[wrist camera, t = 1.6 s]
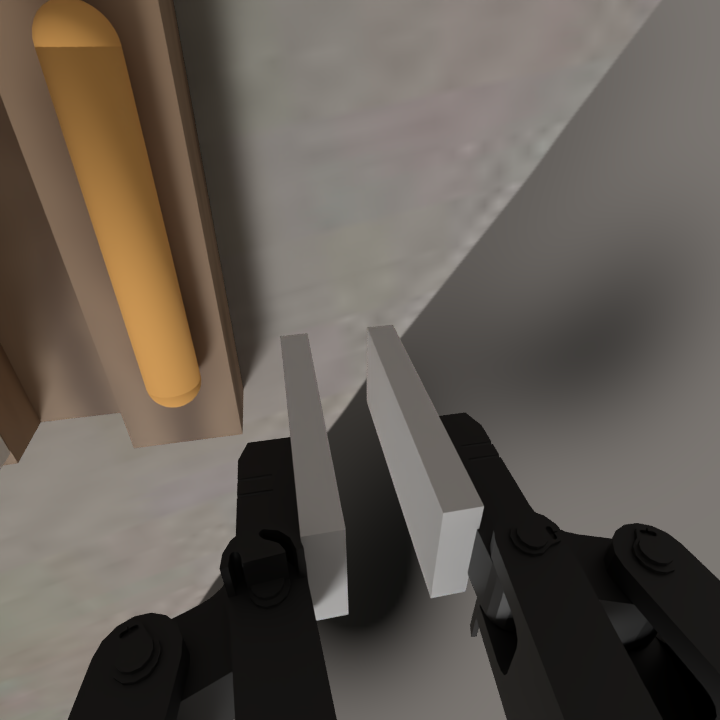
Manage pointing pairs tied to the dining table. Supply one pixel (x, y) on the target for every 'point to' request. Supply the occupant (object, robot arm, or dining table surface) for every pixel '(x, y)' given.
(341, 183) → the dining table surface
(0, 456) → the duct cover
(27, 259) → the wooden tray
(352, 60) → the dining table surface
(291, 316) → the dining table surface
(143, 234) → the orange rod
